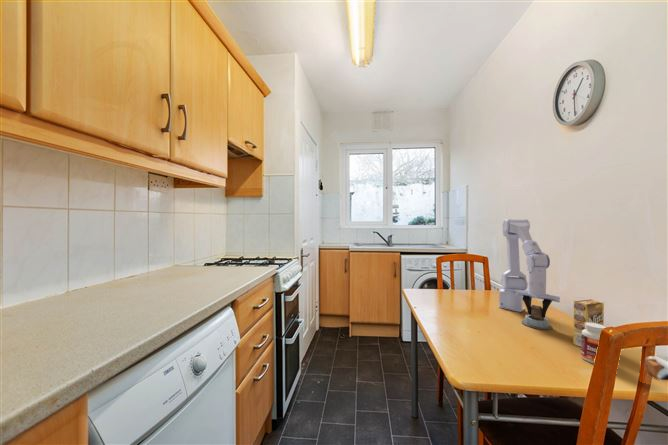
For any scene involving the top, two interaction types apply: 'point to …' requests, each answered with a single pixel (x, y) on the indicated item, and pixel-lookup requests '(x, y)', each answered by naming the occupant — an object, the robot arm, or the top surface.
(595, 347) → the pill bottle
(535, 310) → the walnut peg
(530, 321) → the collar socket
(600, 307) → the candy box
